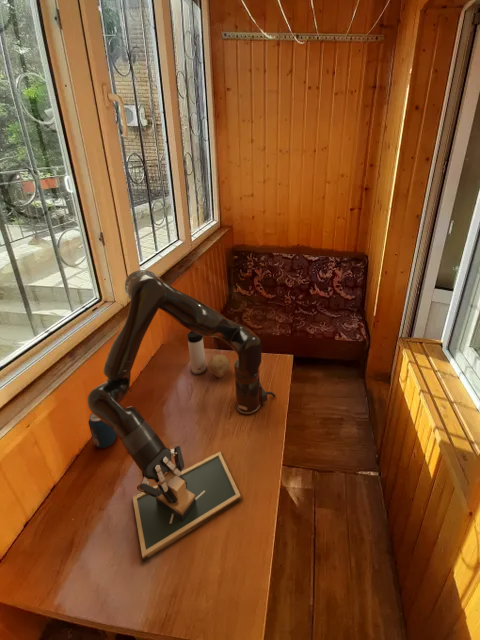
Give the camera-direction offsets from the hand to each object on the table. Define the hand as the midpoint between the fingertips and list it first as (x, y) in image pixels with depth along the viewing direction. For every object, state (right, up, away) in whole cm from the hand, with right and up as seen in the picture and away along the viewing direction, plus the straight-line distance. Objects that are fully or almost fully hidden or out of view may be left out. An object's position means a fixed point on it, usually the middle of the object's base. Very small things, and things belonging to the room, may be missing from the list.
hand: (180, 494), depth 84 cm
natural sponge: (-1, +12, +53) cm, 54 cm away
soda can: (-33, +1, +22) cm, 40 cm away
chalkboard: (+1, -5, +4) cm, 7 cm away
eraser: (-2, -4, +2) cm, 5 cm away
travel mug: (-11, +13, +56) cm, 58 cm away
